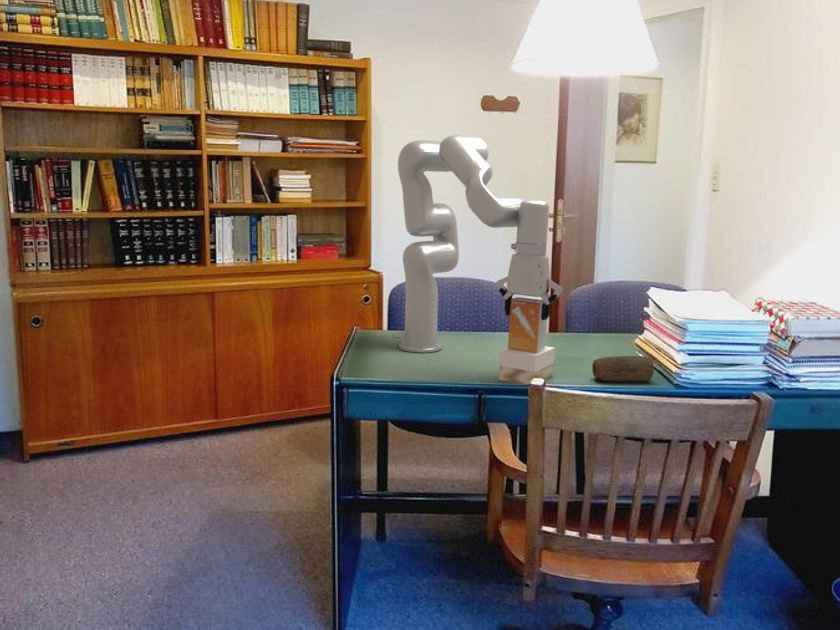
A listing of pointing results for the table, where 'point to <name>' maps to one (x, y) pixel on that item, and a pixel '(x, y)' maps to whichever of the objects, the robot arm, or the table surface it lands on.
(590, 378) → the table surface
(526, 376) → the tower bottom
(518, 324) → the small box
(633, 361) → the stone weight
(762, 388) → the table surface
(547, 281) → the robot arm
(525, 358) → the white flat block
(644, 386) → the table surface
